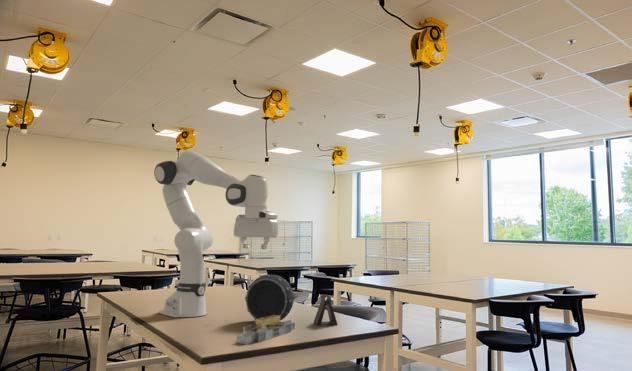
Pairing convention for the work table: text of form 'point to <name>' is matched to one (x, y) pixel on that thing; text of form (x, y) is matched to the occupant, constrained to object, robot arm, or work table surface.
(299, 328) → the work table surface
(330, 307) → the brown a-shaped stand
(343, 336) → the work table surface
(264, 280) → the dark grey short cylinder
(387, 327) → the work table surface
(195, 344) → the work table surface
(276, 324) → the tan notched block
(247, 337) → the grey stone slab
